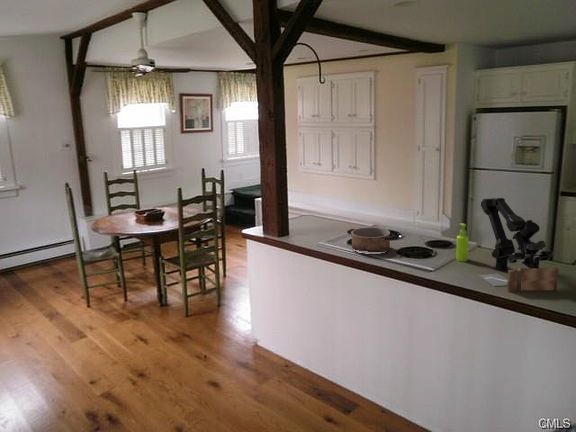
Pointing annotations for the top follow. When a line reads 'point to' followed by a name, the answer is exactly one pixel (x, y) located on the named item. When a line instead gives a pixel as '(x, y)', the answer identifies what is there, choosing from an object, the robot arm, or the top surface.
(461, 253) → the soap dispenser
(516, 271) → the fence post
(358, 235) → the cooking pot
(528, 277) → the fence gate
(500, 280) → the card
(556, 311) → the top surface
